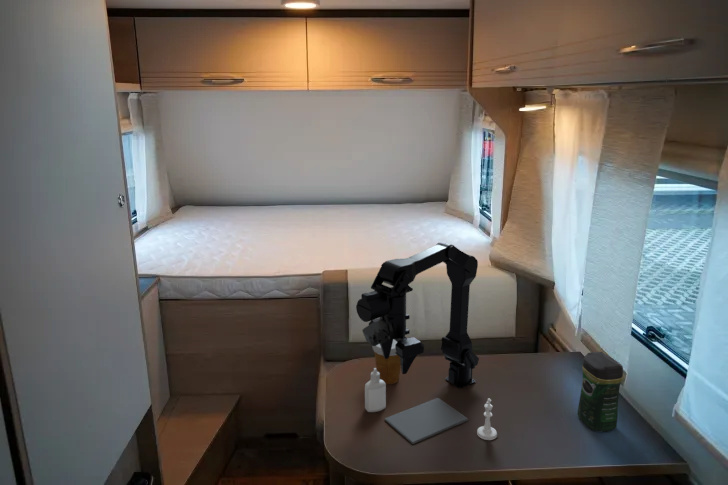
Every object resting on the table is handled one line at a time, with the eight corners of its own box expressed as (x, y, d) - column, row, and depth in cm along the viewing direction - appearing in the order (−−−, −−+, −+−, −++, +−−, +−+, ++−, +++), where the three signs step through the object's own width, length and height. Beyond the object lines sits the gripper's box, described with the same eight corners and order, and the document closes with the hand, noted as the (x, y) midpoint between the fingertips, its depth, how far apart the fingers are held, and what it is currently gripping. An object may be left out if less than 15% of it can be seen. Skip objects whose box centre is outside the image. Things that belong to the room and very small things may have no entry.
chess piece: (473, 434, 136) (474, 399, 133) (483, 425, 139) (485, 391, 137) (490, 442, 133) (492, 406, 130) (500, 433, 136) (502, 398, 133)
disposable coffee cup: (384, 368, 169) (383, 332, 166) (410, 376, 164) (410, 340, 161) (366, 381, 162) (365, 344, 158) (393, 390, 156) (393, 352, 153)
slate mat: (437, 399, 151) (438, 397, 151) (467, 420, 142) (467, 418, 141) (384, 420, 142) (384, 418, 142) (412, 444, 132) (412, 441, 132)
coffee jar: (622, 431, 136) (630, 365, 131) (593, 435, 135) (601, 368, 130) (599, 410, 145) (606, 347, 140) (572, 414, 144) (578, 350, 139)
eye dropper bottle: (385, 413, 145) (385, 373, 142) (364, 412, 146) (363, 372, 143) (386, 404, 149) (386, 365, 146) (365, 403, 150) (365, 364, 147)
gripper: (350, 304, 142) (351, 358, 146) (385, 331, 125) (385, 390, 130) (387, 296, 146) (387, 348, 151) (425, 321, 130) (424, 379, 135)
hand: (395, 365), depth 141 cm, fingers open, 9 cm apart
